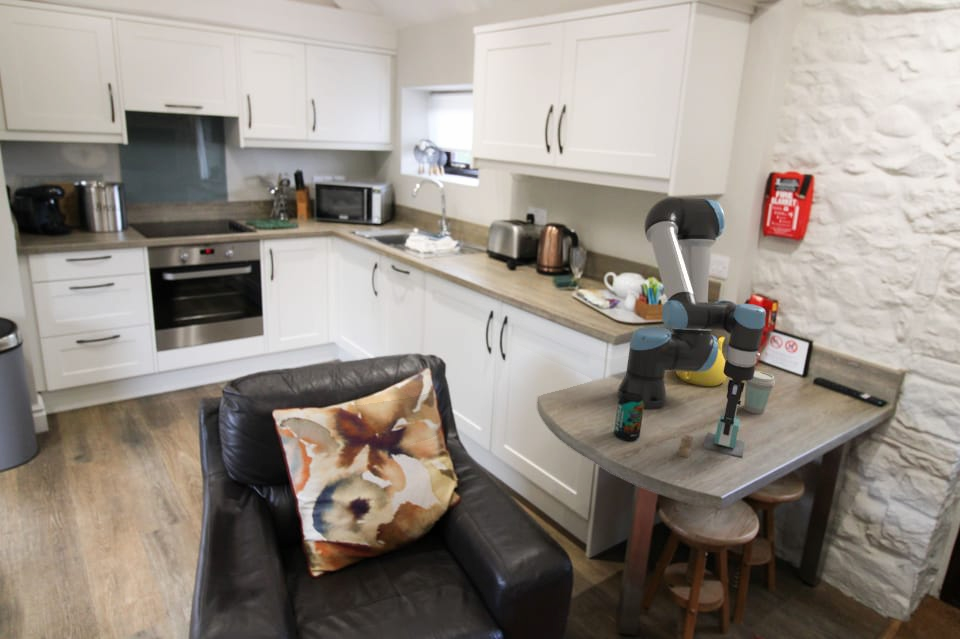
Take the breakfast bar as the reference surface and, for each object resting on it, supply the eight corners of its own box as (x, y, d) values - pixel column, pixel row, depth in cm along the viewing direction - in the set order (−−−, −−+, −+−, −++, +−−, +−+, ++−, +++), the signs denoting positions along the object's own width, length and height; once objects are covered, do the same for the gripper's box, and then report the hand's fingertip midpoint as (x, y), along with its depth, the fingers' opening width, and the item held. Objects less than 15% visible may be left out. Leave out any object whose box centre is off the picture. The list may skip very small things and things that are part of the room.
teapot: (696, 363, 238) (702, 329, 234) (741, 378, 226) (748, 342, 222) (660, 376, 222) (666, 340, 218) (706, 393, 209) (713, 355, 205)
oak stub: (678, 455, 166) (681, 438, 164) (679, 451, 168) (682, 434, 167) (688, 457, 165) (691, 440, 163) (689, 453, 167) (692, 436, 166)
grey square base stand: (703, 447, 171) (707, 424, 169) (707, 433, 180) (711, 411, 178) (742, 457, 167) (747, 434, 165) (744, 442, 176) (749, 420, 174)
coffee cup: (771, 417, 194) (779, 381, 191) (742, 413, 195) (749, 377, 192) (764, 406, 202) (772, 371, 199) (737, 402, 204) (744, 368, 200)
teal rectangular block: (714, 443, 172) (718, 421, 170) (716, 436, 176) (720, 414, 174) (734, 448, 170) (738, 426, 168) (735, 440, 174) (740, 419, 172)
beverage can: (639, 443, 171) (646, 403, 167) (613, 440, 172) (619, 399, 168) (638, 432, 177) (644, 393, 174) (613, 428, 178) (618, 390, 175)
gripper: (753, 380, 154) (737, 457, 160) (758, 352, 176) (743, 421, 182) (721, 373, 157) (706, 449, 163) (729, 347, 179) (716, 415, 185)
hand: (726, 434), depth 172 cm, fingers open, 13 cm apart
